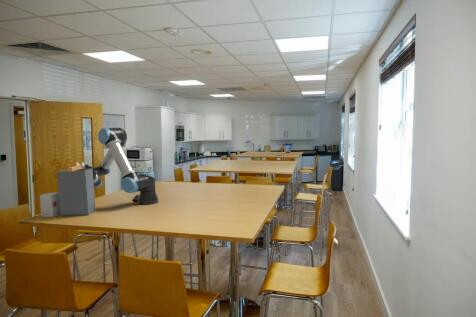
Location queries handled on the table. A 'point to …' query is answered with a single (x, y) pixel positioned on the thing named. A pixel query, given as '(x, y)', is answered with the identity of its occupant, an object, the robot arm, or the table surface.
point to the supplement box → (50, 204)
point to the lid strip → (74, 168)
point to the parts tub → (76, 192)
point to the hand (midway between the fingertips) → (79, 163)
